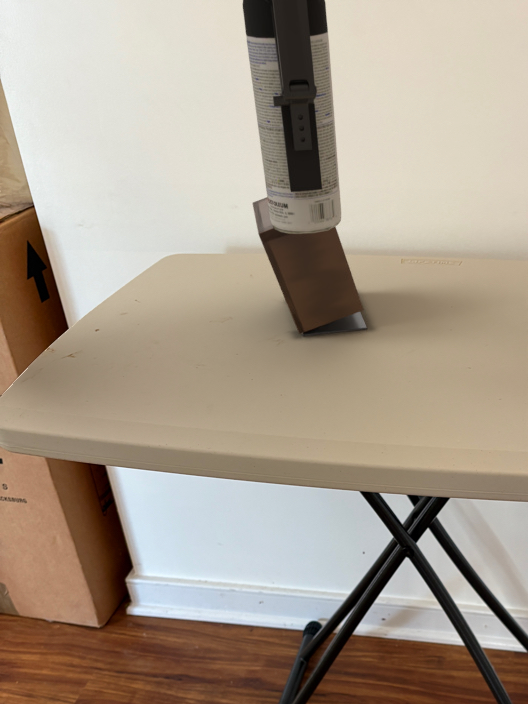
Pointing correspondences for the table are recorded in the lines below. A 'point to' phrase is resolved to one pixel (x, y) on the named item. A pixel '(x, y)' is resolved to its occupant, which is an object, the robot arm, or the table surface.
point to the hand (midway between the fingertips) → (301, 178)
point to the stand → (339, 326)
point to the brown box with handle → (309, 272)
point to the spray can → (284, 206)
